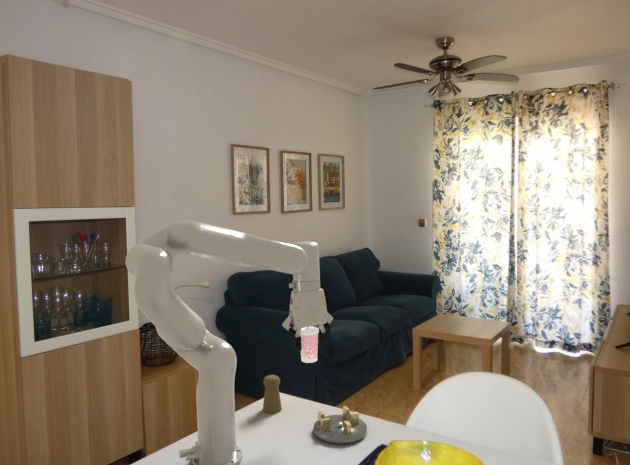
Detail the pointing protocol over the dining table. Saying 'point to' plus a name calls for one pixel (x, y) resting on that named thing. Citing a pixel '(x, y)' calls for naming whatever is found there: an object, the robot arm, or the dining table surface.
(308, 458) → the dining table surface
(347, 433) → the gold studded metal disc
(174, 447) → the dining table surface
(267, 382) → the cork
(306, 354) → the beverage cup
